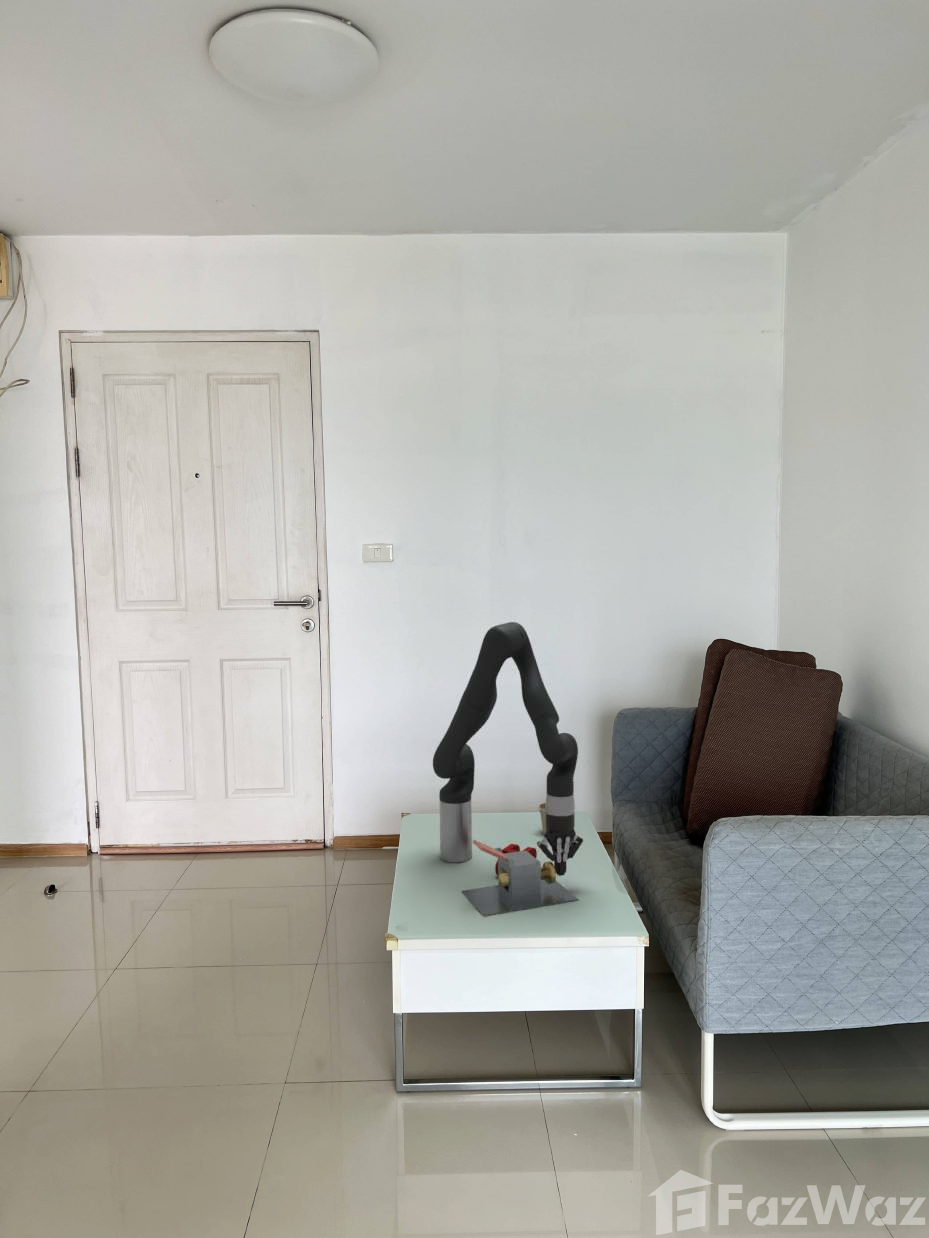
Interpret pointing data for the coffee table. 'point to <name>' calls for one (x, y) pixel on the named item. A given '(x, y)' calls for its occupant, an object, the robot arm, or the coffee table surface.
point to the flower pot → (543, 815)
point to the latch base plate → (518, 888)
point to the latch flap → (491, 851)
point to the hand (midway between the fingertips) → (560, 874)
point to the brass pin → (546, 874)
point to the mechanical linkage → (516, 848)
